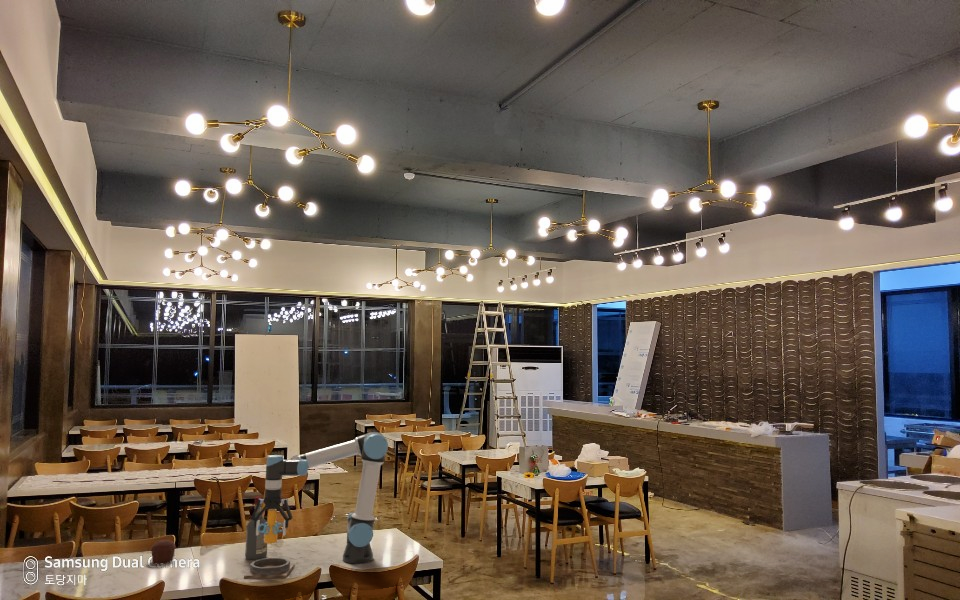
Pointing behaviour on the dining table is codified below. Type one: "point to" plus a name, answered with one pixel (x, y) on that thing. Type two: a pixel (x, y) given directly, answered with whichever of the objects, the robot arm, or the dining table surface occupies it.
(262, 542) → the liquor
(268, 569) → the holder
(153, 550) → the muffin
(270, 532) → the orange post with loops
